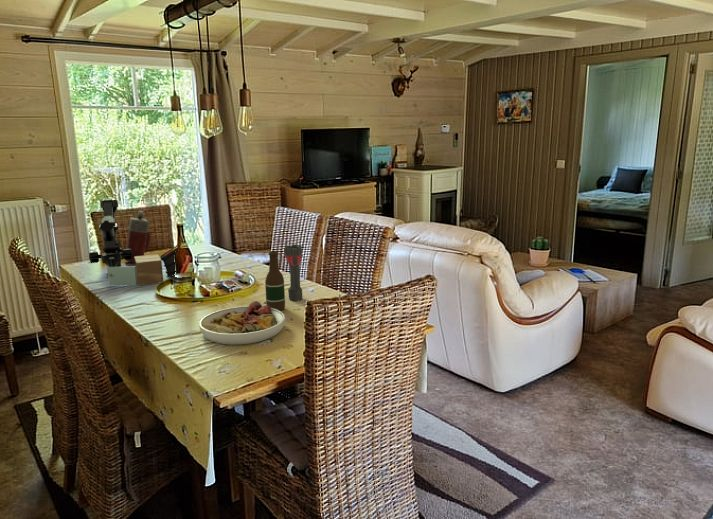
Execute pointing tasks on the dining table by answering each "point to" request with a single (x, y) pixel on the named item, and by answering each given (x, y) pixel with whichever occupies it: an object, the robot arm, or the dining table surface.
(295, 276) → the flashlight
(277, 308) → the beer bottle
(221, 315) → the bowl
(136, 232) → the red grey bottle
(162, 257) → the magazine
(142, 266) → the walnut box
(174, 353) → the dining table surface
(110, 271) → the door
